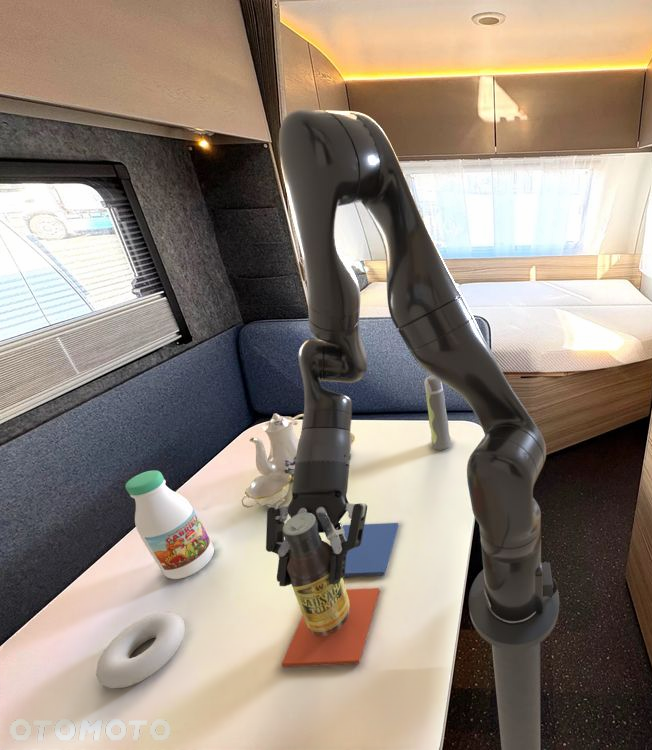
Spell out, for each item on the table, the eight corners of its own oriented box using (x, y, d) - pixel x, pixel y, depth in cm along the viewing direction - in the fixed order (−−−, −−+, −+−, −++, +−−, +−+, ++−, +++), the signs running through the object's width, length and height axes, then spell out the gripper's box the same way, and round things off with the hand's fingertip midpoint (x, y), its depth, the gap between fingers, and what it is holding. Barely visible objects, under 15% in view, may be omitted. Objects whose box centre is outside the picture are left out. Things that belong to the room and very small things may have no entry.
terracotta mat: (379, 591, 65) (379, 588, 64) (359, 663, 55) (358, 660, 55) (314, 593, 65) (313, 590, 64) (282, 666, 55) (281, 663, 55)
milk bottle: (154, 582, 68) (97, 496, 60) (184, 546, 75) (138, 464, 67) (197, 579, 68) (147, 493, 60) (224, 543, 75) (182, 462, 67)
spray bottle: (445, 437, 104) (437, 371, 95) (454, 446, 101) (446, 377, 92) (429, 444, 102) (418, 376, 93) (437, 453, 98) (427, 383, 89)
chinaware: (272, 531, 80) (252, 470, 72) (221, 501, 86) (196, 442, 78) (368, 453, 102) (360, 400, 94) (322, 434, 108) (311, 383, 100)
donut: (93, 710, 51) (183, 666, 56) (78, 697, 50) (173, 652, 54) (115, 642, 59) (193, 608, 63) (103, 629, 58) (184, 595, 62)
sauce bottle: (313, 648, 55) (269, 554, 46) (305, 613, 60) (264, 521, 51) (359, 621, 58) (326, 528, 50) (348, 590, 63) (316, 499, 54)
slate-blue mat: (398, 525, 77) (397, 522, 77) (384, 574, 67) (383, 571, 67) (344, 528, 77) (343, 525, 77) (322, 577, 68) (321, 574, 67)
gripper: (261, 460, 55) (240, 592, 50) (361, 456, 55) (351, 587, 50) (289, 465, 62) (274, 581, 57) (378, 461, 62) (371, 577, 57)
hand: (310, 583), depth 53 cm, fingers closed on sauce bottle, 6 cm apart
